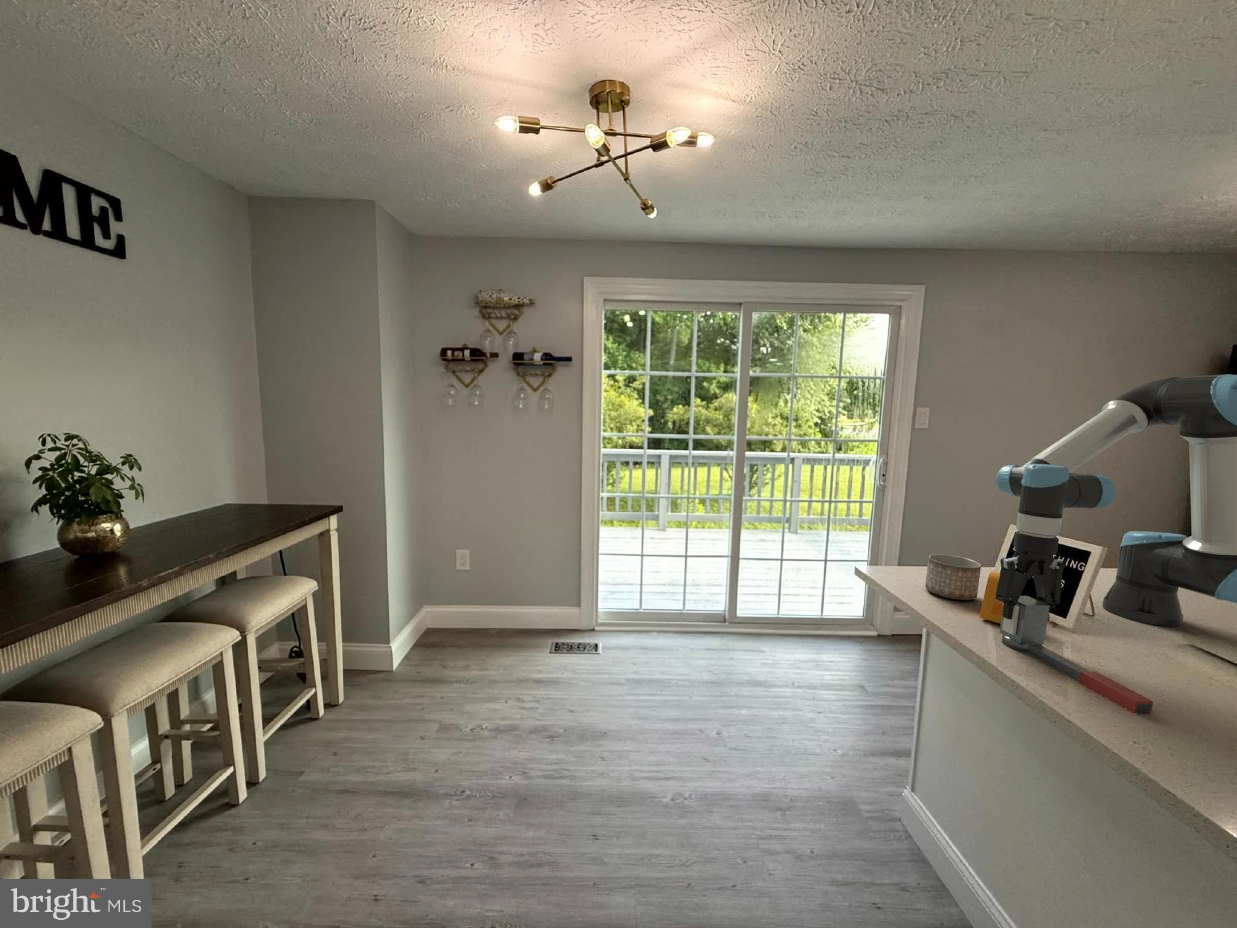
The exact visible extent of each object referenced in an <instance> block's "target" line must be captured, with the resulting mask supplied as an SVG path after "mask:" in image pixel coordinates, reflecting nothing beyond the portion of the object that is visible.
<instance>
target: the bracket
mask: <svg viewBox="0 0 1237 928" xmlns="http://www.w3.org/2000/svg"><path fill="white" fill-rule="evenodd" d="M999 577H1000V573H999V572H997V571H989V573H988V577H987V581H986V586H985V590H984V594H983V599H982V603H981V609H980V614H979V618H980V619H984V620H987V621H991V622H994V623H997V624H1000V625H1001V619H1002V611H1003V604H1004V603H1003V602H1001V601H999V600H997V599H996V598H995V596H996V591H997V587H998V582H999Z"/></svg>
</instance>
